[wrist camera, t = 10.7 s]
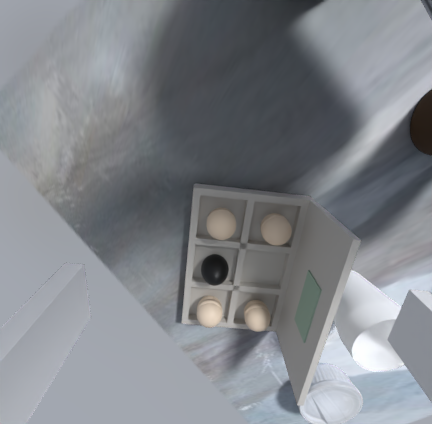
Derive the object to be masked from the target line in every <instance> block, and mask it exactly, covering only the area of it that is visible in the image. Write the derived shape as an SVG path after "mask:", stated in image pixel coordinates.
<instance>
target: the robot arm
mask: <svg viewBox="0 0 432 424" xmlns="http://www.w3.org/2000/svg"><path fill="white" fill-rule="evenodd" d="M421 1H422V3H423V5H424V7H425V9H426V11H427V12H428V14H429V16H430V18H431V20H432V0H421ZM90 319H91V311H90V303H89V296H88V288H87V281H86V273H85V266H84V264H73V263H64V264H63V266H61V267H60V268H59V269H58V270H57V272H55V274H53V275H52V276H51V278H49V280H48V281H47V282H46V283H45V284H44V285H43V286H42V287H41V288H40V289H39V290H38V291H37V292H36V293H35V294H34V295H33V296H32V297H31V298H30V299H29V300H28V301H27V302H26V303H25V304H24V305H23V306H22V307H21V308H20V309H19V310H18V311H17V312H16V313H15V314H14V315H13V316H12V317H11V318H10V319H9V320H8V321H7V322H6V323H5V324H4V325H3V326H2V327H1V328H0V424H27V422H28V420H29V419H30V417H31V415H32V414H33V412H34V410H35V409H36V407H37V406H38V404H39V402H40V401H41V399H42V398H43V396H44V394H45V393H46V391H47V389H48V388H49V386H50V384H51V383H52V381H53V380H54V378H55V376H56V374H57V373H58V371H59V370H60V368H61V366H62V365H63V363H64V361H65V360H66V358H67V357H68V355H69V353H70V352H71V350H72V348H73V347H74V345H75V344H76V342H77V340H78V339H79V337H80V335H81V334H82V332H83V330H84V329H85V327H86V326H87V324H88V322H89V321H90ZM387 340H388V342H389V343H390V345H391V346H392V347H393V349H394V350H395V352H396V353H397V354H398V356H399V357H400V359H401V360H402V361H403V363H404V364H405V366H406V367H407V369H408V370H409V371H410V373H411V374H412V376H413V377H414V378H415V380H416V381H417V383H418V384H419V385H420V387H421V388H422V390H423V391H424V392H425V394H426V395H427V397H428V398H429V400H430V401H431V402H432V294H431V293H430V292H429V291H421V290H409V292H408V294H407V296H406V298H405V301H404V303H403V305H402V307H401V310H400V312H399V314H398V316H397V318H396V321H395V323H394V325H393V327H392V330H391V332H390V334H389V336H388V339H387Z"/></svg>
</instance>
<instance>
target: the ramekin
mask: <svg viewBox="0 0 432 424" xmlns="http://www.w3.org/2000/svg"><path fill="white" fill-rule="evenodd" d="M362 405H363V398H362V395H361V393H360V392H359V390H358V389H357V388H356V387H355V386H354V385H353V383H352V382H351V380H350V379H349V378H348V376H347V375H346V373H345V372H344V371H343V370H342V369H340V368H339V367H337V366H335V365H332V364H327V363H320V364H318V365H317V368H316V371H315V374H314V377H313V380H312V382H311V385H310V388H309V391H308V394H307V397H306V399H305V402H304V405H303V406H300V405H298V407H299V411H300V413H301V415H302V417H303V418H304V419H306V420H307V421H308V422H310V423H313V424H342V423H345V422H347V421H349V420H351V419H352V418H353V417H355V416H356V415H357V414H358V413H359V412H360V410H361V408H362Z"/></svg>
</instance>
